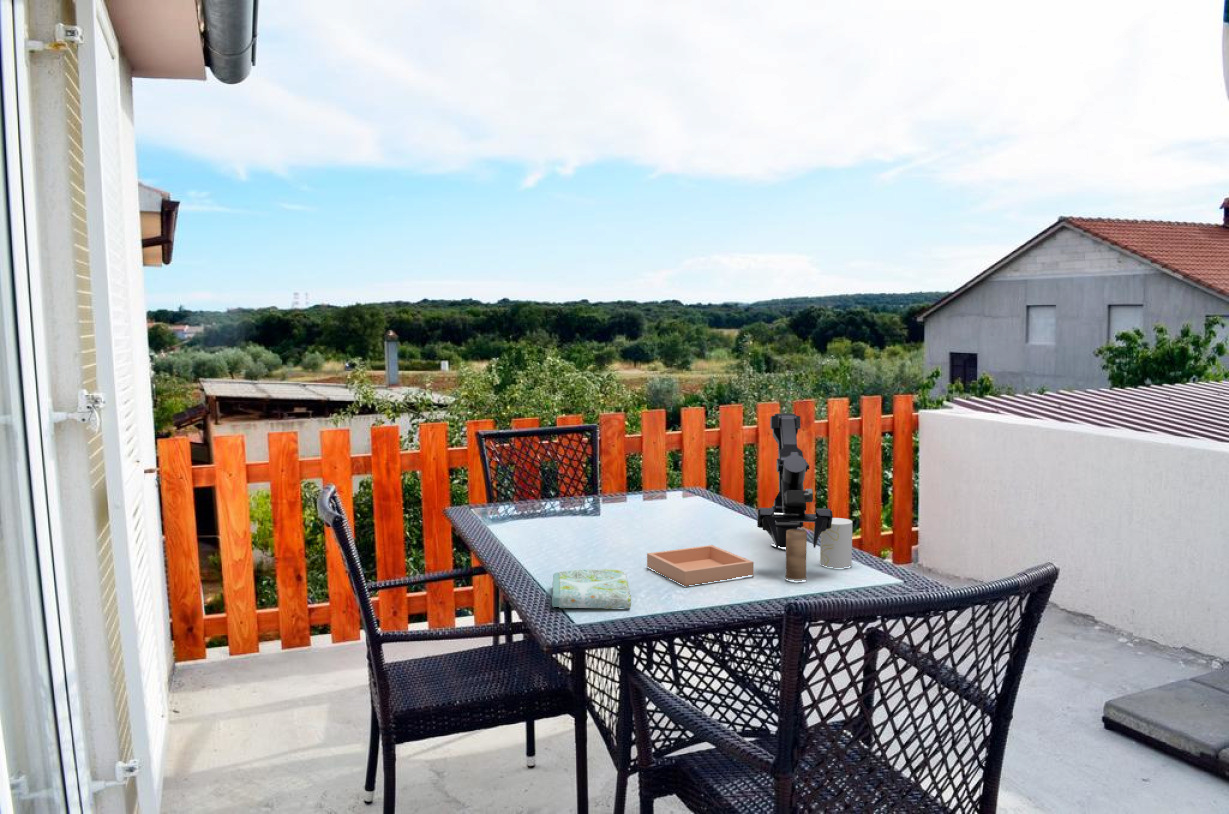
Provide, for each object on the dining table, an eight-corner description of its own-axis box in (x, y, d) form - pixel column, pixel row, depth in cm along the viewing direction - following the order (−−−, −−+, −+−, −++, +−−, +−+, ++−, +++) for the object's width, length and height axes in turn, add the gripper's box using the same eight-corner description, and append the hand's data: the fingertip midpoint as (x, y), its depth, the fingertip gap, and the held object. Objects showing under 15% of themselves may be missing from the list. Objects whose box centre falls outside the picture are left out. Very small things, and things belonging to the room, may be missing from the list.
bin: (647, 568, 247) (647, 553, 247) (711, 559, 256) (712, 545, 255) (685, 587, 229) (685, 571, 229) (753, 577, 238) (753, 561, 237)
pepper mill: (781, 579, 236) (781, 530, 235) (798, 576, 238) (798, 528, 237) (793, 584, 231) (794, 534, 230) (810, 581, 234) (811, 532, 233)
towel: (627, 585, 232) (627, 565, 232) (631, 612, 211) (631, 590, 211) (554, 586, 232) (553, 566, 231) (550, 613, 211) (550, 591, 210)
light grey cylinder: (814, 563, 251) (814, 519, 250) (840, 560, 254) (840, 516, 253) (831, 570, 244) (832, 525, 242) (857, 567, 246) (858, 522, 245)
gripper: (758, 476, 240) (759, 528, 230) (832, 477, 238) (837, 529, 228) (756, 501, 248) (757, 552, 238) (828, 502, 246) (832, 553, 236)
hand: (796, 546), depth 235 cm, fingers open, 9 cm apart
